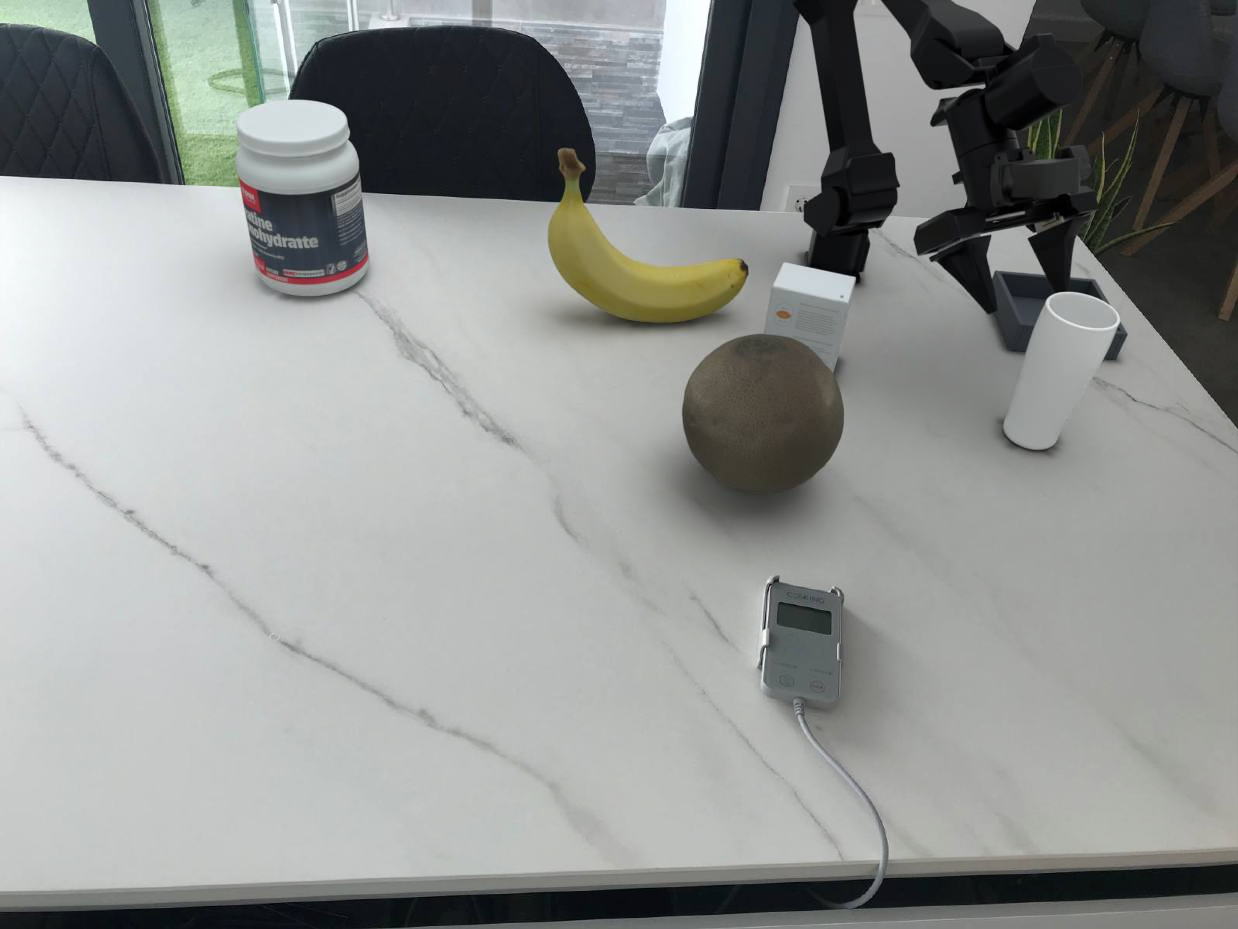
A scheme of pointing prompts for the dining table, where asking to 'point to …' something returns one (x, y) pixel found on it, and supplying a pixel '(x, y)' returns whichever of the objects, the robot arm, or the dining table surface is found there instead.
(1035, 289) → the tray
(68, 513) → the dining table surface
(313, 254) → the supplement tub
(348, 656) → the dining table surface
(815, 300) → the small box
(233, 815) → the dining table surface
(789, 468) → the cantaloupe
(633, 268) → the banana
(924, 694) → the dining table surface
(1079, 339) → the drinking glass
